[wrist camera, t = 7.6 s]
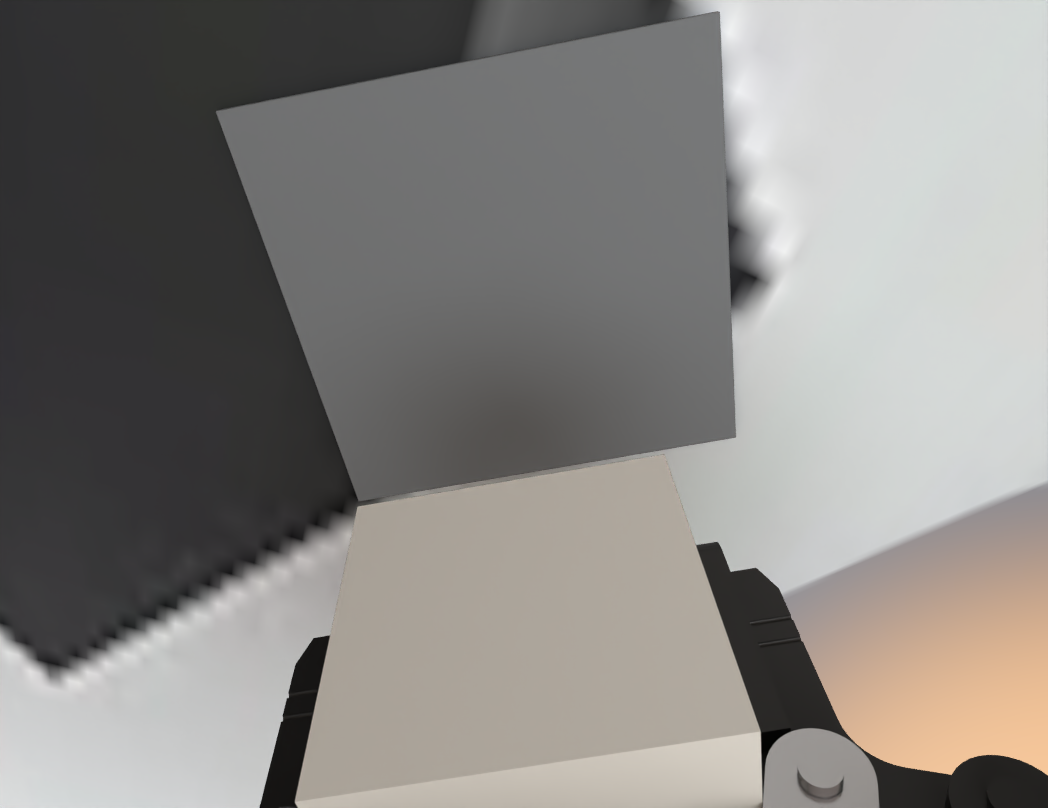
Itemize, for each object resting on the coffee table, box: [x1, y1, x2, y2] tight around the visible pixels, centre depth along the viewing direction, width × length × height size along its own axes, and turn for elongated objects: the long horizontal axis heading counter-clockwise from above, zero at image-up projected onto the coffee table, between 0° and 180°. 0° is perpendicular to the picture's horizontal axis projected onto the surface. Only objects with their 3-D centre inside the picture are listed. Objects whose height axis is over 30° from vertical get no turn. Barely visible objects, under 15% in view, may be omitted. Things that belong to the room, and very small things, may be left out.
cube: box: [295, 454, 763, 808], centre depth 12 cm, size 5×5×5 cm
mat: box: [216, 11, 736, 501], centre depth 25 cm, size 14×14×1 cm
